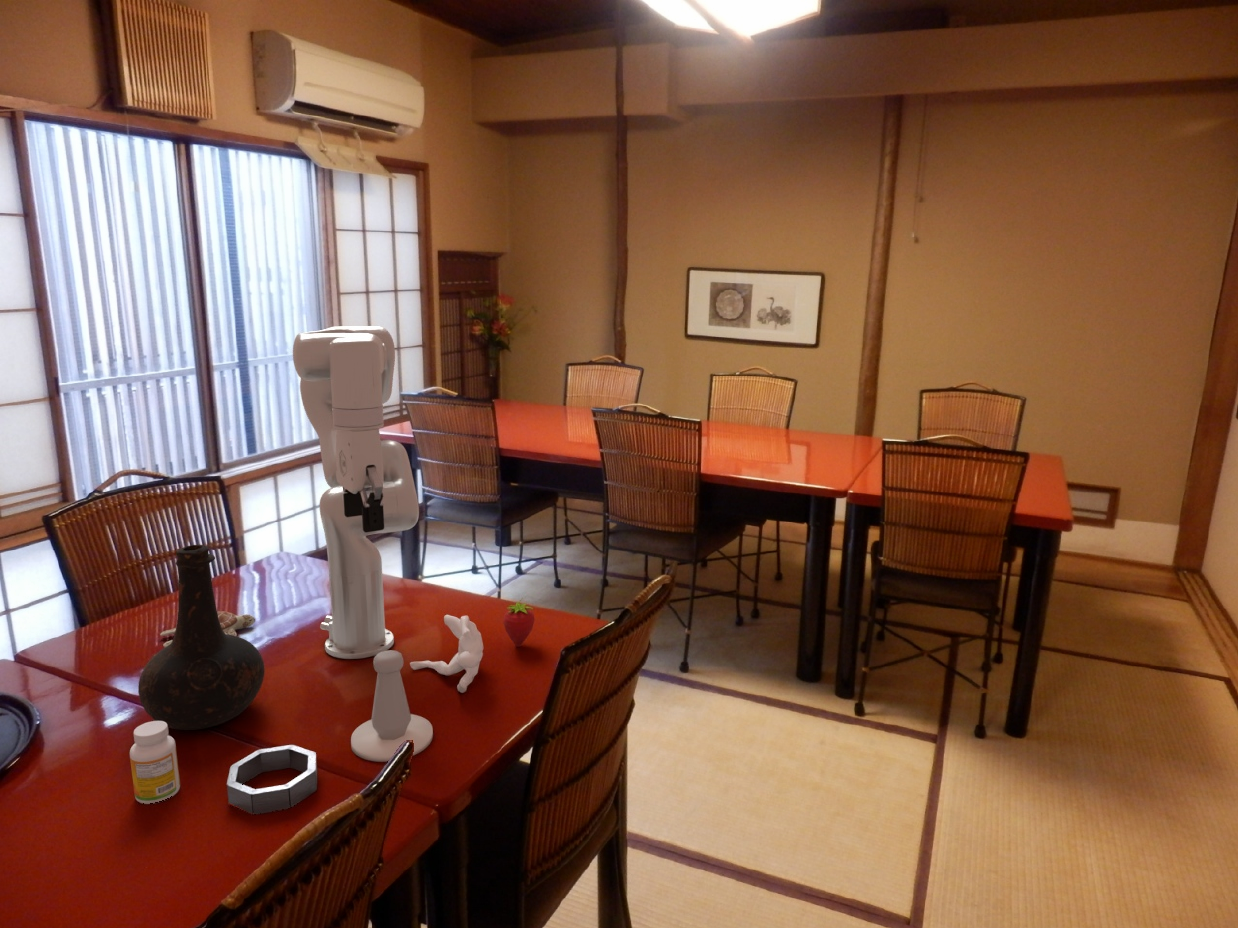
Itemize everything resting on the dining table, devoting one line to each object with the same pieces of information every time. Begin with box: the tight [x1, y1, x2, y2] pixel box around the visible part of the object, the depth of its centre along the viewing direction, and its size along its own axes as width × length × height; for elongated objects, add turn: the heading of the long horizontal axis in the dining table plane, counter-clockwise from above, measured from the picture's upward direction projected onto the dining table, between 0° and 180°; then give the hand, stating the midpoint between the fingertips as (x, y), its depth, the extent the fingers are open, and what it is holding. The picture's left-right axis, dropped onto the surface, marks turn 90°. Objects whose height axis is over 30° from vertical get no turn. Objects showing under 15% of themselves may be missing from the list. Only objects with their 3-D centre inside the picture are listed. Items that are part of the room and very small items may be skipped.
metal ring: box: [226, 744, 318, 815], centre depth 113 cm, size 11×11×3 cm
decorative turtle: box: [159, 610, 256, 648], centre depth 161 cm, size 18×17×5 cm
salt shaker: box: [370, 649, 412, 740], centre depth 125 cm, size 6×6×13 cm
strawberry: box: [503, 598, 535, 648], centre depth 158 cm, size 6×8×10 cm
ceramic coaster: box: [350, 713, 434, 763], centre depth 126 cm, size 12×12×1 cm
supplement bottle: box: [129, 720, 181, 805], centre depth 111 cm, size 5×5×10 cm
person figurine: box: [409, 614, 484, 694], centre depth 147 cm, size 13×13×18 cm
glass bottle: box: [137, 544, 266, 731], centre depth 129 cm, size 18×18×28 cm
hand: (364, 523), depth 133 cm, fingers open, 9 cm apart
